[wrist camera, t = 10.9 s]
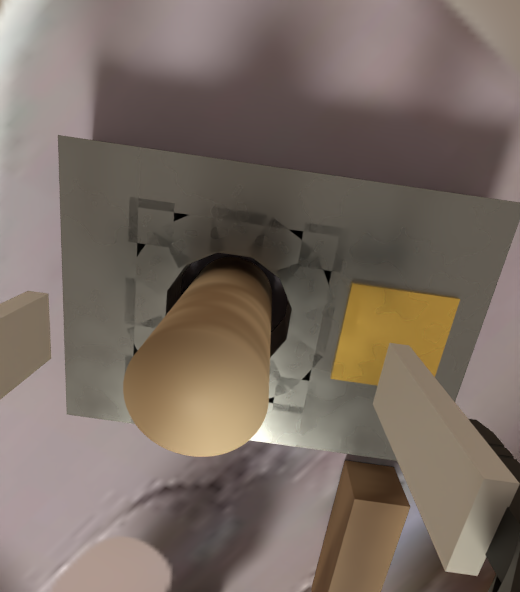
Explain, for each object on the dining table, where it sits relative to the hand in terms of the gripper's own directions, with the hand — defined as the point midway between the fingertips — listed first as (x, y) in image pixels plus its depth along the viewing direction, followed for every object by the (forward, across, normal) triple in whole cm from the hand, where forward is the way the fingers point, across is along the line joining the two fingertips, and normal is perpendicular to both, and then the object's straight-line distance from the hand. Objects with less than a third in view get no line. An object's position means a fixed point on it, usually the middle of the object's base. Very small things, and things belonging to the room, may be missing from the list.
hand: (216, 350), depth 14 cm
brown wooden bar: (+7, -10, +16) cm, 20 cm away
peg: (+7, 0, 0) cm, 7 cm away
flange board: (+7, -2, 0) cm, 7 cm away
